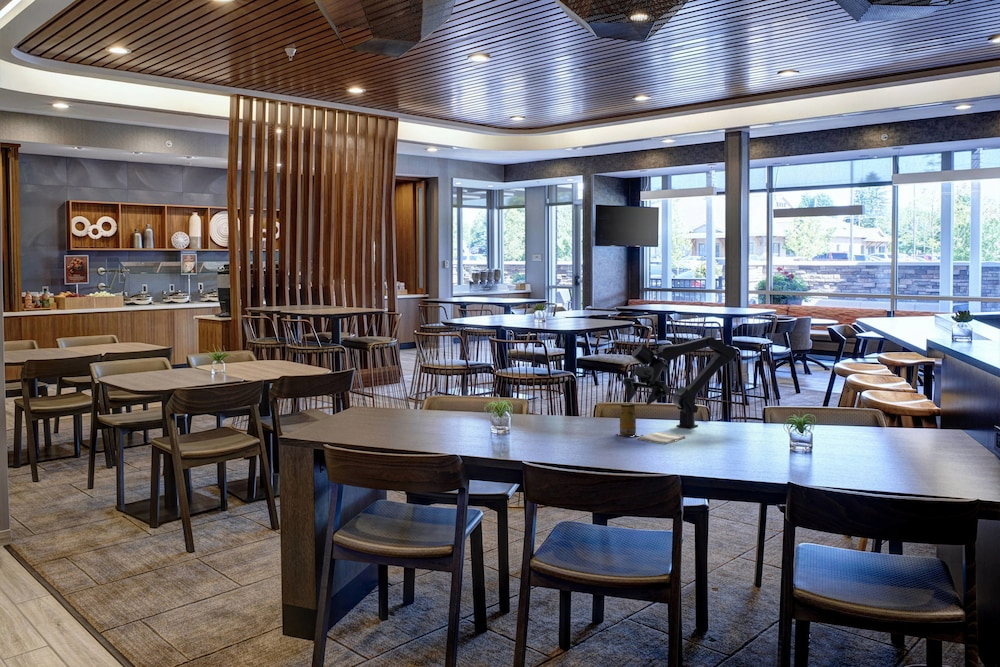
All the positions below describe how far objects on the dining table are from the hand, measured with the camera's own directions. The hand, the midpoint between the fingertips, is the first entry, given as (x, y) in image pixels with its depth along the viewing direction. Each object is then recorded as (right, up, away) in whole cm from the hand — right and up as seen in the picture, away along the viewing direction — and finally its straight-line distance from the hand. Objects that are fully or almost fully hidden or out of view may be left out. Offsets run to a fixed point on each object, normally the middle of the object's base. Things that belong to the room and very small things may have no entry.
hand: (637, 403), depth 307 cm
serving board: (+7, -12, -11) cm, 18 cm away
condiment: (-4, -12, -3) cm, 13 cm away
